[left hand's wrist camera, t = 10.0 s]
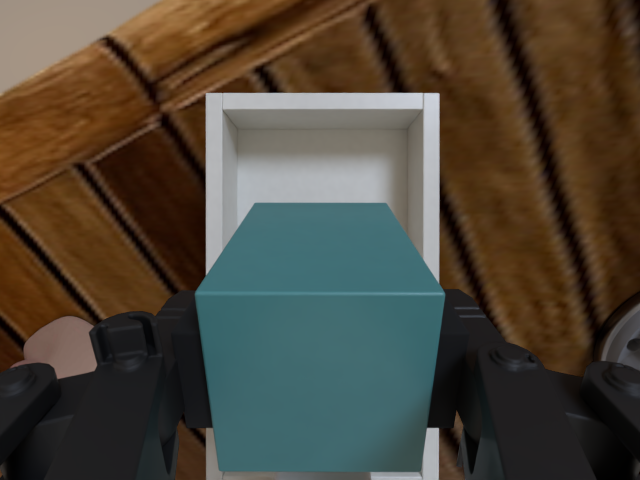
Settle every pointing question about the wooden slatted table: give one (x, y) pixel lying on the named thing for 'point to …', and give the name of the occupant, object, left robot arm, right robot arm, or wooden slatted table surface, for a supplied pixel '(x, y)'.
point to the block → (320, 341)
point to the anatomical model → (62, 347)
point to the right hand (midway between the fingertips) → (321, 453)
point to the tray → (324, 179)
